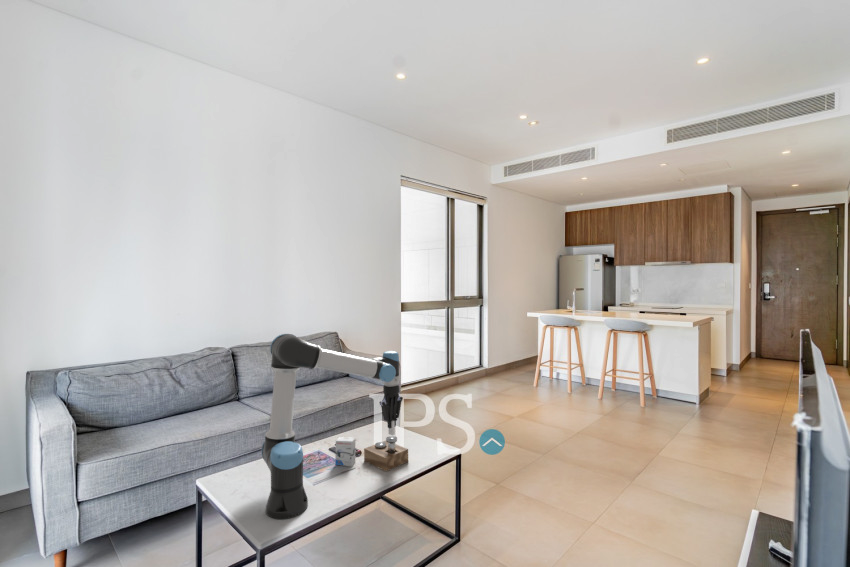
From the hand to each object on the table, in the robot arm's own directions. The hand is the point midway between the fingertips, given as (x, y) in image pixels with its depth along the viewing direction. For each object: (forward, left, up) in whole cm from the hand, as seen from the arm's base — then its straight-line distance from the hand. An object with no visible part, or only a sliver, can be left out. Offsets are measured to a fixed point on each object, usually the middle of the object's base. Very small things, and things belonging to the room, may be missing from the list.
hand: (391, 434), depth 197 cm
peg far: (0, +8, -14) cm, 16 cm away
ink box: (-15, +16, -14) cm, 26 cm away
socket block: (0, +4, -14) cm, 15 cm away
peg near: (0, 0, -9) cm, 9 cm away
